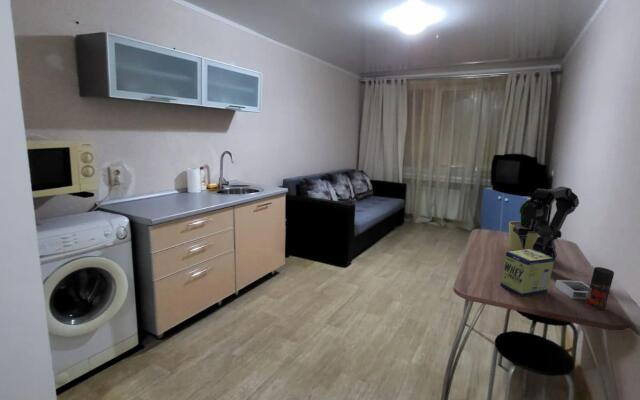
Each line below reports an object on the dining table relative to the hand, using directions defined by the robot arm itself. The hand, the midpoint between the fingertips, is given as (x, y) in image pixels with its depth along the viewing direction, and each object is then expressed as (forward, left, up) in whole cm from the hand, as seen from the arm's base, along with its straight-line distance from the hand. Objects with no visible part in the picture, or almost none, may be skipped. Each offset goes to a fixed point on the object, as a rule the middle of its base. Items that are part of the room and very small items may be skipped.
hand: (533, 249), depth 159 cm
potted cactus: (-29, -19, -12) cm, 37 cm away
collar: (+2, +20, -12) cm, 24 cm away
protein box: (+19, +7, -12) cm, 24 cm away
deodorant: (+8, +29, -12) cm, 32 cm away
